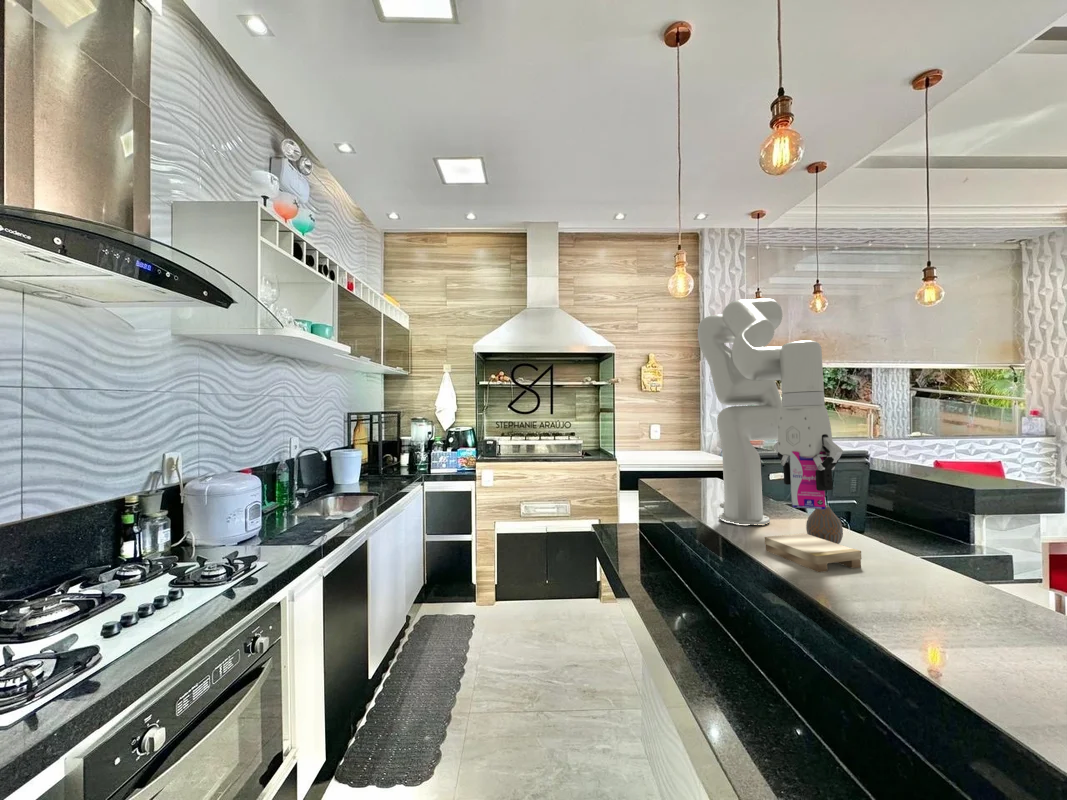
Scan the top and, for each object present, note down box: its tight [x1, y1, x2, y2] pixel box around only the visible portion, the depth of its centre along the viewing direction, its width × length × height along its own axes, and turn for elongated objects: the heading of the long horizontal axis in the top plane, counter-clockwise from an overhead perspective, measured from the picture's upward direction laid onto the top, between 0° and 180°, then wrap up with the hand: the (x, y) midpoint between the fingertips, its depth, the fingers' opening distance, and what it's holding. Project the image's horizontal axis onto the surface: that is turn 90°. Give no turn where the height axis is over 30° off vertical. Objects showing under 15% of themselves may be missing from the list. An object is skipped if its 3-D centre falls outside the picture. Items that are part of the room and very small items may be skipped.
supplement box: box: [790, 451, 826, 510], centre depth 93 cm, size 6×6×12 cm
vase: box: [805, 504, 844, 544], centre depth 102 cm, size 7×7×9 cm
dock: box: [764, 532, 862, 573], centre depth 93 cm, size 14×10×3 cm
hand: (807, 486), depth 93 cm, fingers closed on supplement box, 8 cm apart
